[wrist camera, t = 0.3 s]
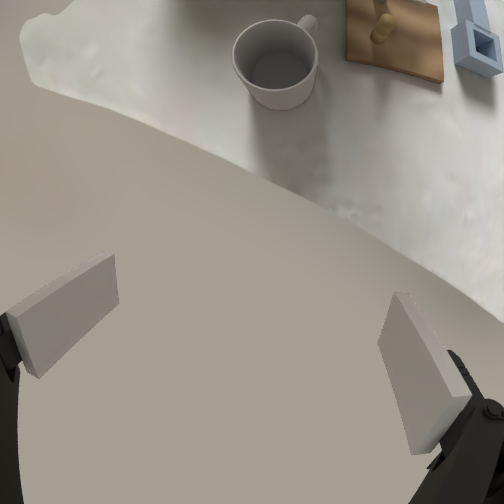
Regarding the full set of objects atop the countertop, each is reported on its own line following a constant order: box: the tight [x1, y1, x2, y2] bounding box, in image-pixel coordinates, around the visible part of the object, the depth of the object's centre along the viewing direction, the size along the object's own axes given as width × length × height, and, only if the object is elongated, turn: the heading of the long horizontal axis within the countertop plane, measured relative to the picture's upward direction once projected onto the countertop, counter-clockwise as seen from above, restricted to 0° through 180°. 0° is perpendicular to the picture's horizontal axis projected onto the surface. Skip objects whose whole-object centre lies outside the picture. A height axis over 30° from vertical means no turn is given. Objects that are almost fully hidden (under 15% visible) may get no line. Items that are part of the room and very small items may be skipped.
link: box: [451, 0, 504, 78], centre depth 22 cm, size 18×6×5 cm, turn 175°
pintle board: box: [346, 0, 444, 84], centre depth 25 cm, size 14×14×8 cm
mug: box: [232, 14, 318, 110], centre depth 28 cm, size 12×8×11 cm
